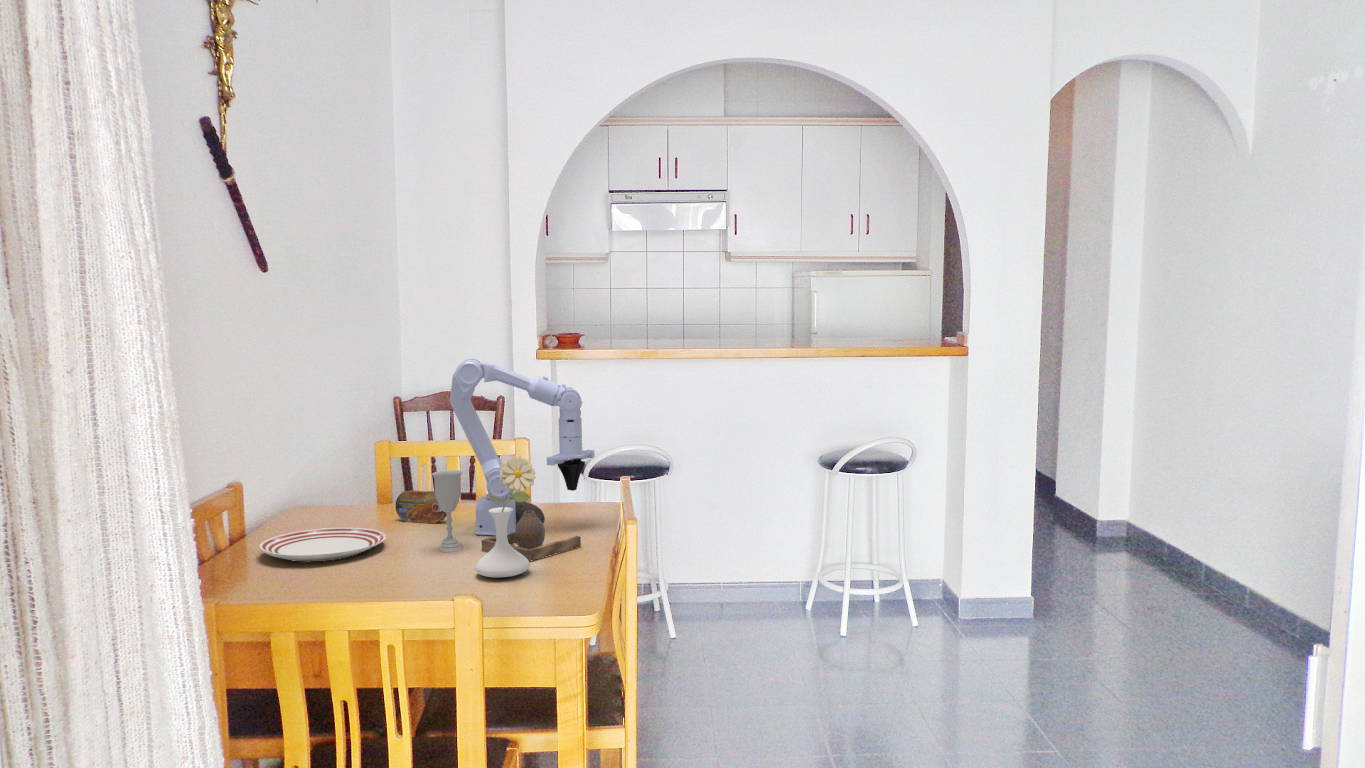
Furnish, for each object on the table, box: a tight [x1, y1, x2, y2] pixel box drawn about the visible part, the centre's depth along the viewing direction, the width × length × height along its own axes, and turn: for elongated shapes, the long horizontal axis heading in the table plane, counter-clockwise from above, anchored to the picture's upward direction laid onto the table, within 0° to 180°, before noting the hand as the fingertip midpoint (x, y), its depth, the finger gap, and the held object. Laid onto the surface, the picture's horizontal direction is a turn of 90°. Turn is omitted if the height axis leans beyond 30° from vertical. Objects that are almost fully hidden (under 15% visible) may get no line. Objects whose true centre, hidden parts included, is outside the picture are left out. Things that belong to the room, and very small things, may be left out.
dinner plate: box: [258, 527, 387, 562], centre depth 213 cm, size 28×27×3 cm
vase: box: [515, 511, 546, 549], centre depth 212 cm, size 7×7×9 cm
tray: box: [481, 532, 582, 561], centre depth 212 cm, size 16×16×2 cm
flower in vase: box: [474, 455, 536, 579], centre depth 192 cm, size 13×11×25 cm
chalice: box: [431, 469, 463, 553], centre depth 213 cm, size 7×7×18 cm
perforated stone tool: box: [516, 501, 546, 525], centre depth 234 cm, size 15×5×7 cm, turn 60°
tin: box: [394, 490, 447, 524], centre depth 242 cm, size 15×3×8 cm, turn 73°
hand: (571, 489), depth 231 cm, fingers closed
